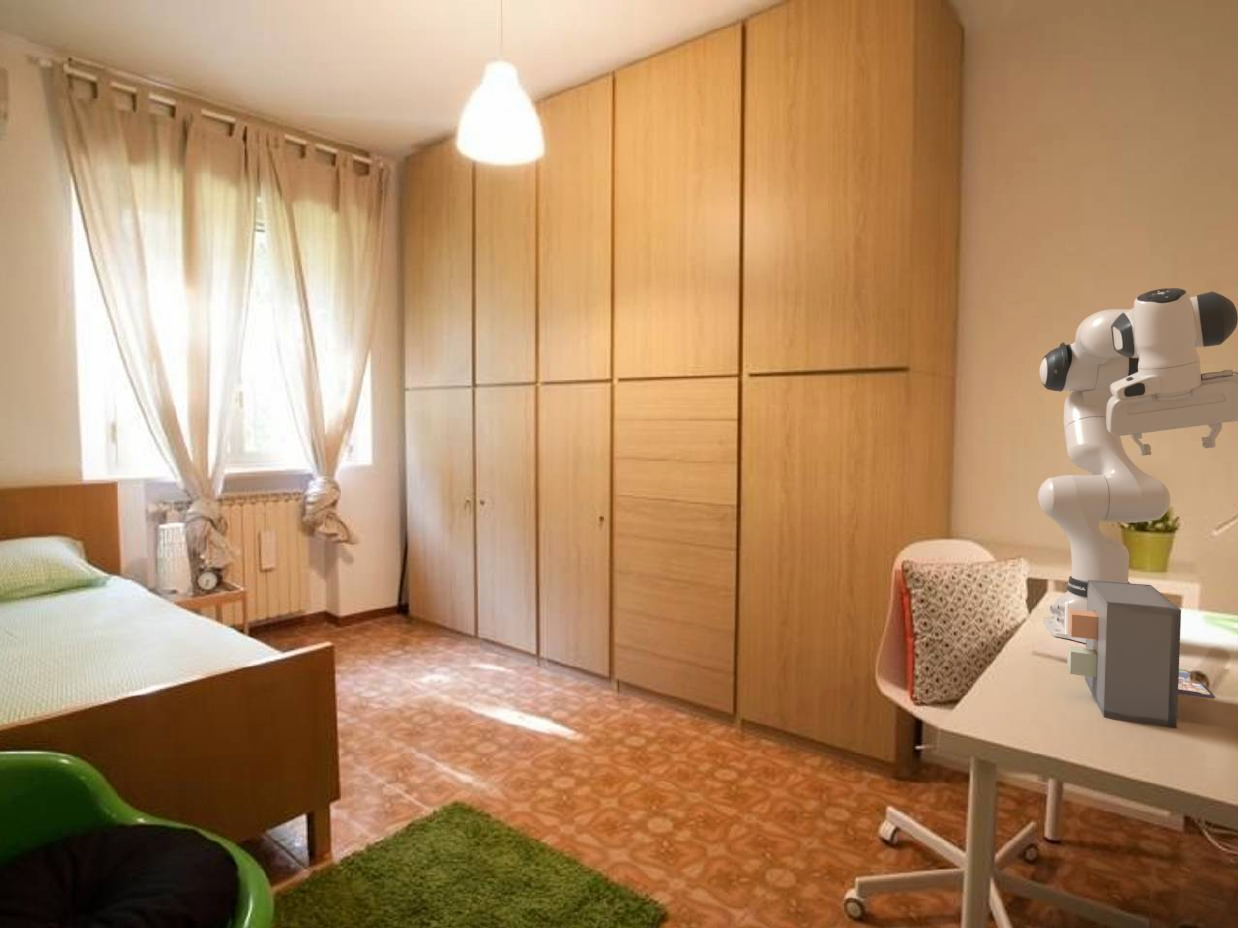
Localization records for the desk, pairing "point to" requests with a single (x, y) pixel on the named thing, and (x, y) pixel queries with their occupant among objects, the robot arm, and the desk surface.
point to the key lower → (1082, 661)
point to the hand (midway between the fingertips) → (1176, 450)
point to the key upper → (1083, 624)
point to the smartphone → (1191, 686)
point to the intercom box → (1135, 653)
